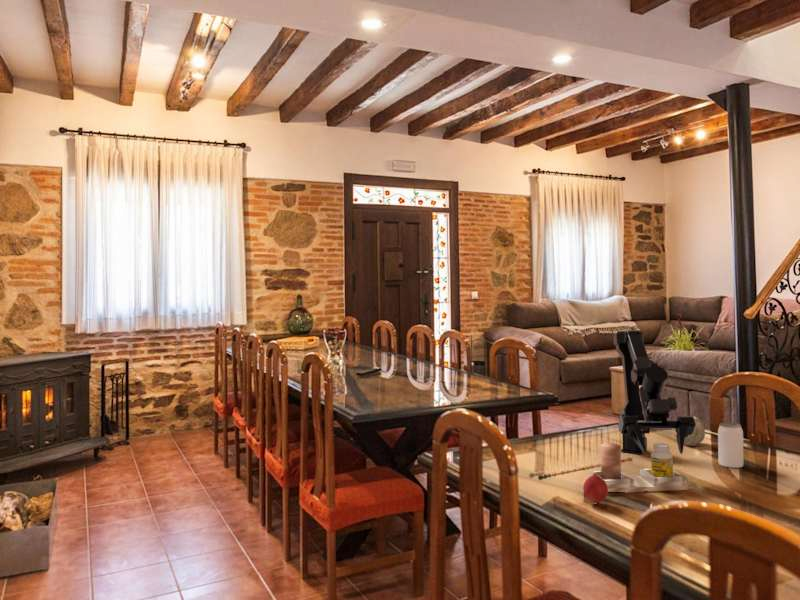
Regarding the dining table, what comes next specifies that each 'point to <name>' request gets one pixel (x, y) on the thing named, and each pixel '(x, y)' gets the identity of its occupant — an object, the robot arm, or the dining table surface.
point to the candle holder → (623, 482)
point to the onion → (595, 488)
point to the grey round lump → (695, 434)
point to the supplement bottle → (661, 461)
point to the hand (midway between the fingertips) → (663, 452)
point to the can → (730, 445)
